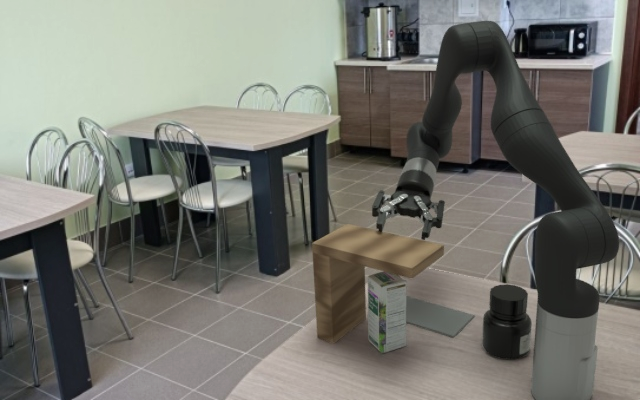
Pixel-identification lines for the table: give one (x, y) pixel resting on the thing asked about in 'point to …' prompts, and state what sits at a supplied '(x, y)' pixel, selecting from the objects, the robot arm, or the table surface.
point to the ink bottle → (507, 323)
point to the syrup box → (386, 311)
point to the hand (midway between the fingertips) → (401, 232)
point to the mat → (436, 317)
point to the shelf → (359, 272)
